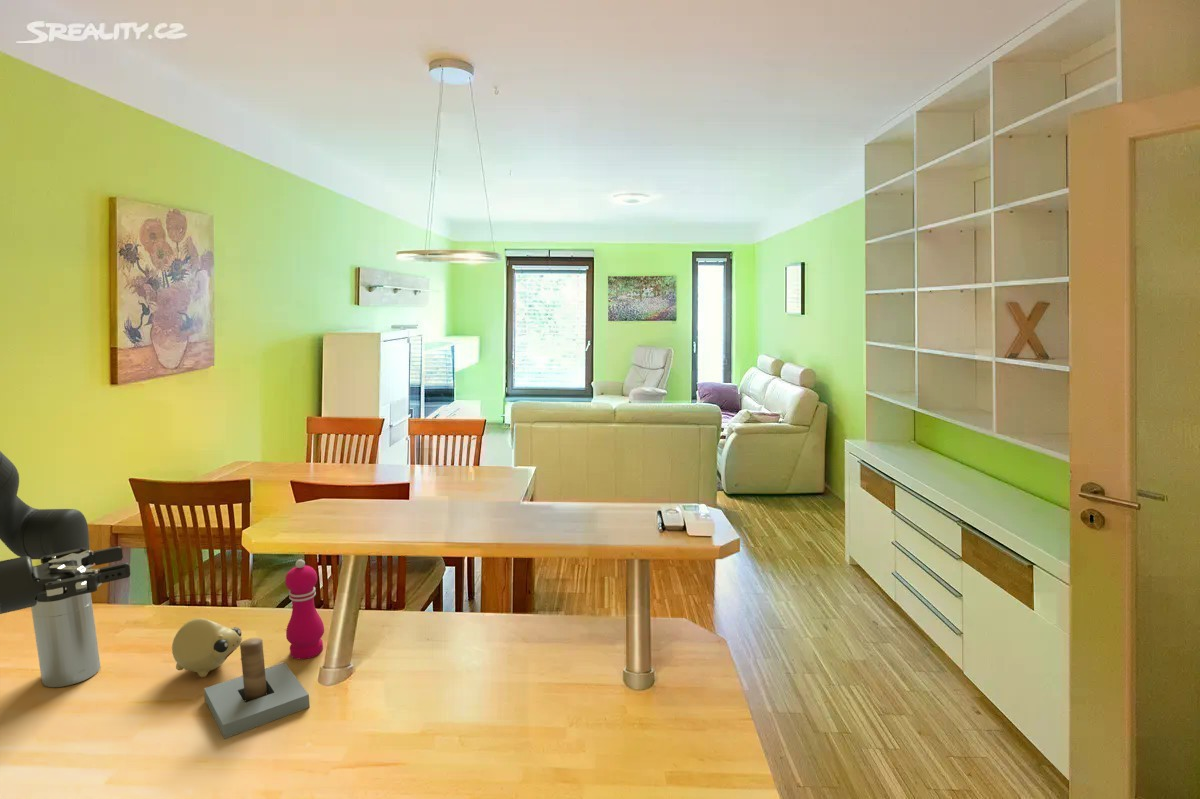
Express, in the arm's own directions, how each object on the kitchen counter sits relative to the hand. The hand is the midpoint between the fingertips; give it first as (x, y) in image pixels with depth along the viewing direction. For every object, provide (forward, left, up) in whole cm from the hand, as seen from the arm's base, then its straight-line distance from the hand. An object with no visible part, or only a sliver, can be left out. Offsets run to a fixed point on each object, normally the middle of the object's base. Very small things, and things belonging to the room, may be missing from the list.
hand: (125, 560), depth 115 cm
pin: (0, +17, -32) cm, 36 cm away
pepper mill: (-13, +30, -32) cm, 46 cm away
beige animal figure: (-18, +13, -32) cm, 39 cm away
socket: (0, +17, -32) cm, 36 cm away
